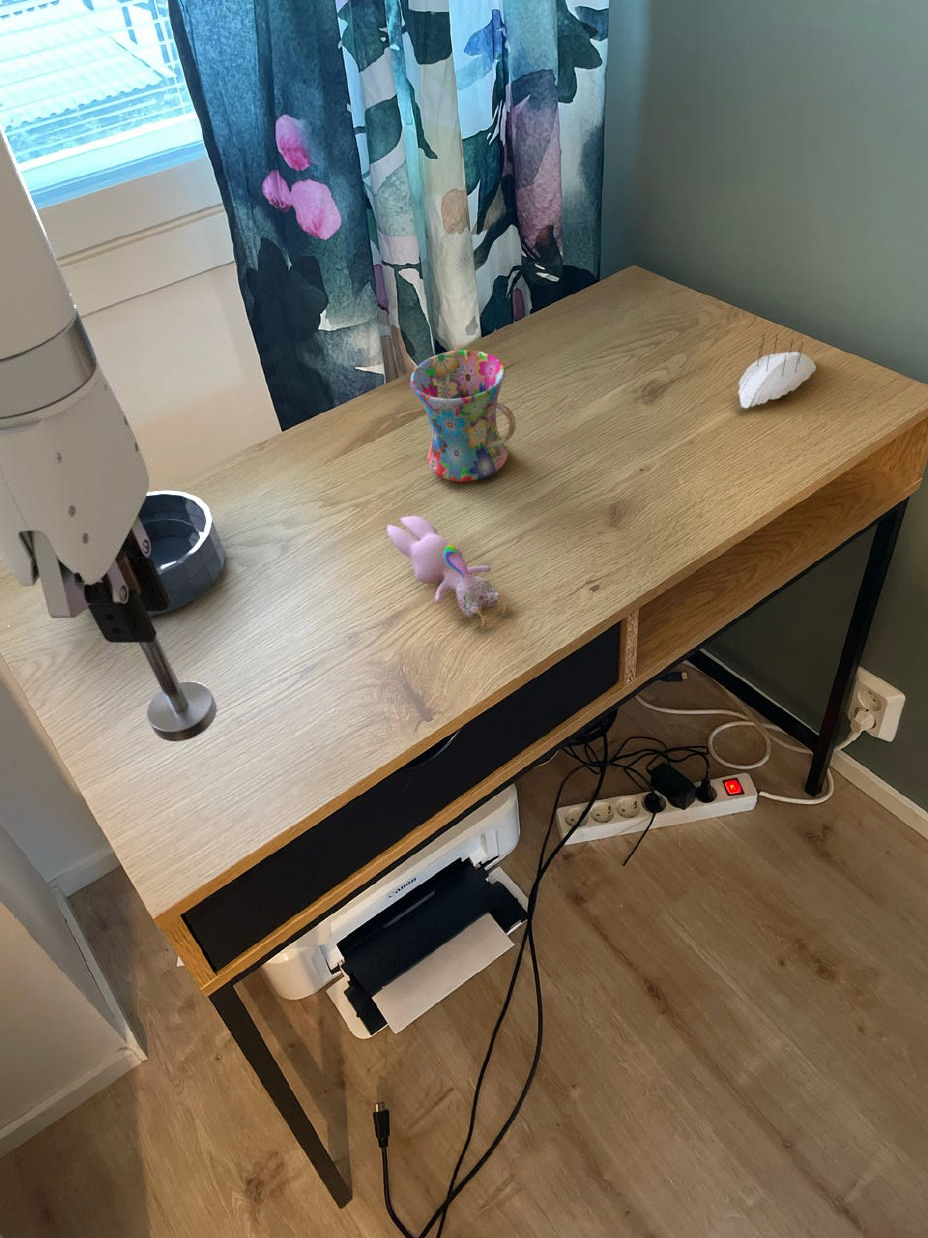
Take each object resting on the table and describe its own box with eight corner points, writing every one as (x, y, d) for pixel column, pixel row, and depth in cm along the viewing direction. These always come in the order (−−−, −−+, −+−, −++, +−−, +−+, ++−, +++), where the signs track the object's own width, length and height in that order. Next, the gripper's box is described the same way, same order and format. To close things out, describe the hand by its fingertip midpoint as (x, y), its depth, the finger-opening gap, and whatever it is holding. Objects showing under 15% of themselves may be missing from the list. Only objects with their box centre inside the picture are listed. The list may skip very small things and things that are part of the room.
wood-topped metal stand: (183, 751, 62) (103, 594, 51) (138, 725, 64) (53, 568, 53) (230, 706, 64) (163, 547, 54) (186, 682, 66) (112, 524, 56)
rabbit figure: (522, 614, 81) (421, 519, 88) (526, 571, 76) (419, 474, 83) (469, 650, 78) (369, 549, 85) (469, 608, 73) (363, 505, 80)
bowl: (156, 640, 81) (135, 601, 78) (64, 593, 87) (41, 555, 84) (254, 553, 88) (240, 514, 85) (163, 515, 94) (146, 476, 91)
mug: (407, 467, 96) (391, 379, 88) (468, 427, 100) (458, 340, 92) (486, 512, 89) (476, 421, 81) (549, 467, 93) (545, 376, 85)
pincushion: (782, 354, 103) (790, 308, 99) (830, 371, 100) (840, 324, 96) (719, 400, 98) (725, 353, 94) (768, 420, 95) (775, 372, 91)
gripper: (10, 292, 50) (125, 543, 63) (-144, 459, 39) (34, 722, 52) (138, 286, 49) (227, 541, 62) (18, 453, 38) (158, 722, 51)
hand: (139, 621), depth 57 cm, fingers closed on wood-topped metal stand
